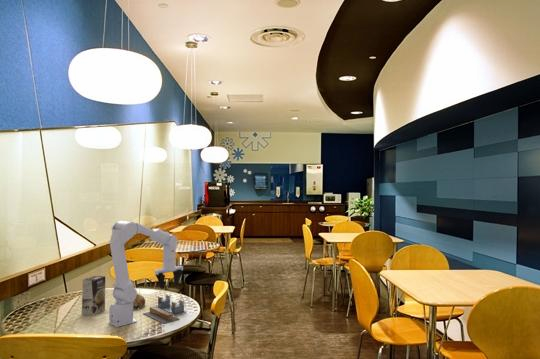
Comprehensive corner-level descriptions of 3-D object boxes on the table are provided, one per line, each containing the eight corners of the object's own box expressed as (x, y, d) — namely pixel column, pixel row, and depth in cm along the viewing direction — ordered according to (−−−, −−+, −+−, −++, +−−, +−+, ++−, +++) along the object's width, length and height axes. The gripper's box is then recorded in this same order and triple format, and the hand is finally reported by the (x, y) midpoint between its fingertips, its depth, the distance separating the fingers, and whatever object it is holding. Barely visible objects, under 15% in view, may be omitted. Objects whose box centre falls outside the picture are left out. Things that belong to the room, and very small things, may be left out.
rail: (168, 320, 177) (168, 315, 177) (149, 312, 188) (149, 307, 188) (172, 319, 179) (172, 314, 179) (154, 311, 190) (154, 306, 190)
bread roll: (146, 312, 201) (149, 295, 204) (139, 309, 192) (142, 292, 195) (127, 311, 202) (130, 295, 205) (119, 308, 193) (122, 291, 196)
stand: (175, 315, 185) (175, 303, 185) (156, 307, 197) (156, 296, 197) (186, 312, 189) (186, 301, 190) (166, 304, 201) (166, 293, 201)
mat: (163, 324, 174) (163, 323, 174) (143, 314, 187) (143, 313, 187) (179, 319, 180) (179, 318, 180) (158, 310, 192) (158, 309, 192)
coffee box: (93, 315, 184) (94, 280, 184) (81, 314, 185) (81, 279, 186) (105, 309, 193) (106, 276, 193) (93, 308, 194) (94, 275, 195)
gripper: (177, 256, 203) (177, 282, 203) (151, 259, 193) (151, 288, 193) (185, 258, 198) (185, 285, 198) (159, 262, 188) (158, 291, 188)
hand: (169, 287), depth 195 cm, fingers open, 7 cm apart
